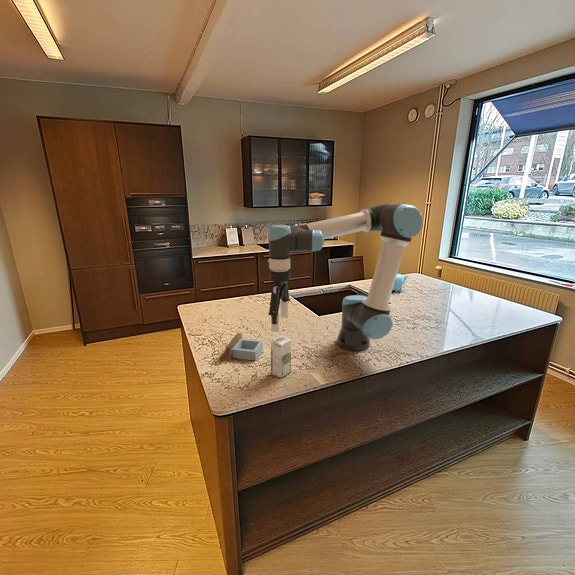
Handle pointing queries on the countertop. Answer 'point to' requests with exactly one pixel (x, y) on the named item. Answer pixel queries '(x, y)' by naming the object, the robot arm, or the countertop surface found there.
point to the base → (231, 347)
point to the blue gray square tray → (247, 349)
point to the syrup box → (281, 356)
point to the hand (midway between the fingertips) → (279, 324)
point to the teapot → (399, 282)
